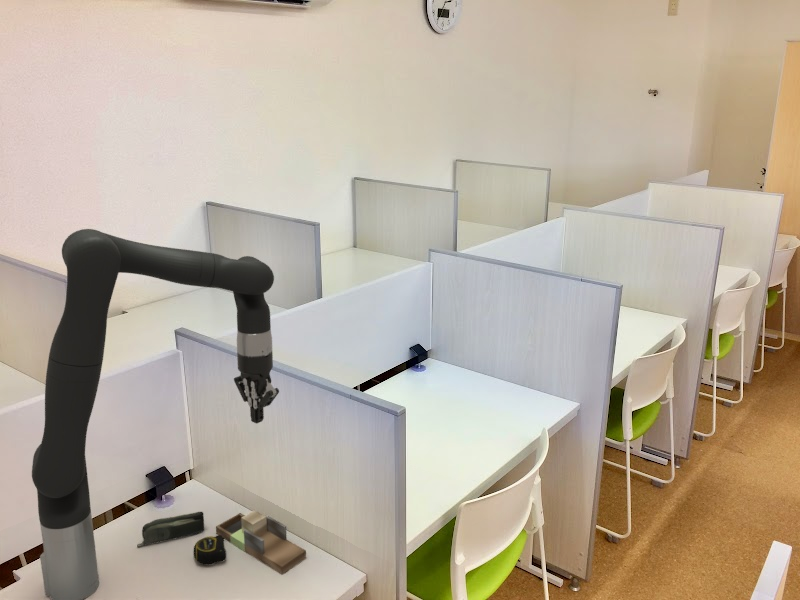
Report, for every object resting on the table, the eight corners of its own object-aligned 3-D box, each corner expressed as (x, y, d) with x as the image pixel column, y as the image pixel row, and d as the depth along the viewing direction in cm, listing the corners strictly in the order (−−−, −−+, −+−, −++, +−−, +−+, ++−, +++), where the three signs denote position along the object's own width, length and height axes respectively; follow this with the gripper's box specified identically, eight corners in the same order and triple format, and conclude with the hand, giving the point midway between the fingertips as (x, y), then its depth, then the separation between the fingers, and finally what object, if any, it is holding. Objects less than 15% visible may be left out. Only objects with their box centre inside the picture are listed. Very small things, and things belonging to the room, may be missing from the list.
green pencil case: (202, 508, 161) (134, 523, 154) (205, 514, 158) (136, 530, 151) (203, 526, 162) (135, 542, 155) (205, 533, 160) (137, 549, 153)
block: (266, 531, 157) (266, 516, 156) (253, 539, 154) (252, 524, 153) (255, 524, 160) (255, 510, 158) (242, 532, 157) (241, 517, 155)
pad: (269, 536, 159) (268, 529, 158) (244, 551, 153) (244, 544, 153) (254, 528, 162) (254, 521, 161) (230, 542, 156) (230, 535, 156)
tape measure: (227, 565, 149) (226, 550, 148) (194, 570, 147) (193, 556, 146) (224, 546, 155) (224, 532, 154) (193, 551, 153) (192, 537, 152)
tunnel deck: (306, 558, 152) (305, 536, 150) (282, 574, 146) (281, 552, 145) (240, 520, 165) (239, 500, 163) (216, 533, 159) (215, 513, 158)
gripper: (221, 346, 148) (225, 418, 153) (261, 361, 141) (263, 436, 145) (248, 337, 154) (251, 407, 159) (288, 351, 146) (290, 424, 151)
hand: (257, 421), depth 152 cm, fingers closed
